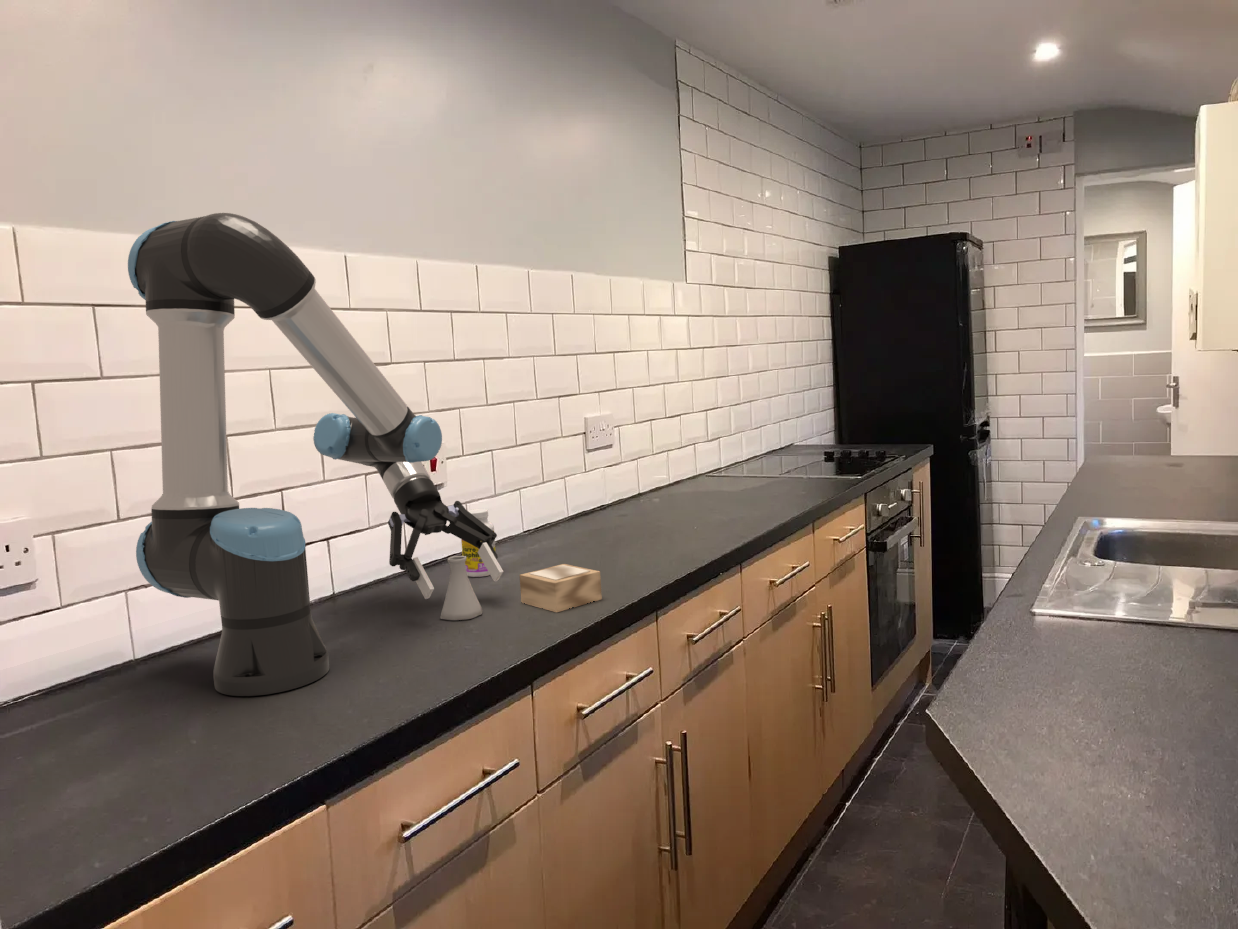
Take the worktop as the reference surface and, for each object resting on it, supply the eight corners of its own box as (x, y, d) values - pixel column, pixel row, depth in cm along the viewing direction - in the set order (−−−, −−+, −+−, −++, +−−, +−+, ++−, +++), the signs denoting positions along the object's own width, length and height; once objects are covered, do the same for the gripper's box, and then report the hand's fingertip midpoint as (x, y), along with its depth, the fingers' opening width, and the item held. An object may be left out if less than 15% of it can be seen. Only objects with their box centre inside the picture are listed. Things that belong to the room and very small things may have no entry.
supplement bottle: (458, 577, 181) (452, 513, 180) (472, 569, 188) (468, 508, 186) (488, 578, 179) (483, 513, 178) (502, 570, 186) (498, 507, 184)
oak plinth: (556, 612, 152) (554, 582, 152) (521, 602, 160) (519, 573, 159) (601, 599, 159) (600, 570, 158) (565, 590, 166) (564, 562, 166)
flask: (474, 622, 150) (469, 562, 148) (433, 621, 151) (428, 563, 150) (489, 609, 157) (484, 552, 155) (449, 609, 158) (445, 553, 157)
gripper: (465, 493, 172) (517, 582, 163) (341, 514, 156) (391, 615, 146) (478, 467, 168) (533, 557, 158) (352, 485, 151) (405, 587, 142)
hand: (465, 585), depth 152 cm, fingers open, 13 cm apart
